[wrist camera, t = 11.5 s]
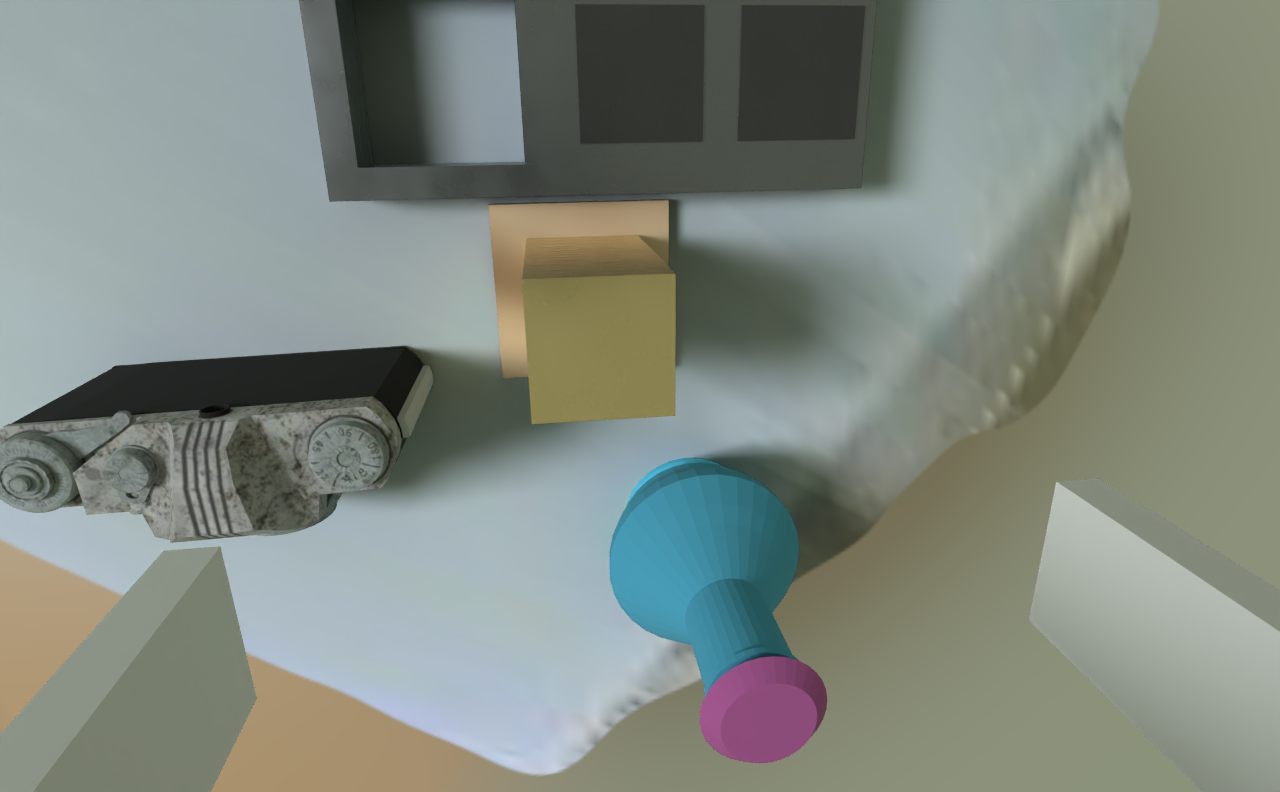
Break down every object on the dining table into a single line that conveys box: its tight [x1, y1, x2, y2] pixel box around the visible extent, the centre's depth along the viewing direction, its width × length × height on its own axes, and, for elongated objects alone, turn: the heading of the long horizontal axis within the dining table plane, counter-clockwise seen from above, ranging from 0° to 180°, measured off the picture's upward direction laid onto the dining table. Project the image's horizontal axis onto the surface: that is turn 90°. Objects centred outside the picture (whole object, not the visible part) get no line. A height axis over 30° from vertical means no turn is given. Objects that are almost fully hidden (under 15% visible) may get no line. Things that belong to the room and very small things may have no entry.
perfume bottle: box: [610, 458, 827, 763], centre depth 32 cm, size 9×9×15 cm
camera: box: [0, 346, 434, 542], centre depth 30 cm, size 15×7×10 cm, turn 92°
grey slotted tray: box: [299, 0, 877, 202], centre depth 30 cm, size 9×22×3 cm, turn 91°
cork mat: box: [488, 199, 669, 378], centre depth 34 cm, size 8×8×1 cm
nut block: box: [522, 235, 676, 424], centre depth 29 cm, size 5×5×10 cm
